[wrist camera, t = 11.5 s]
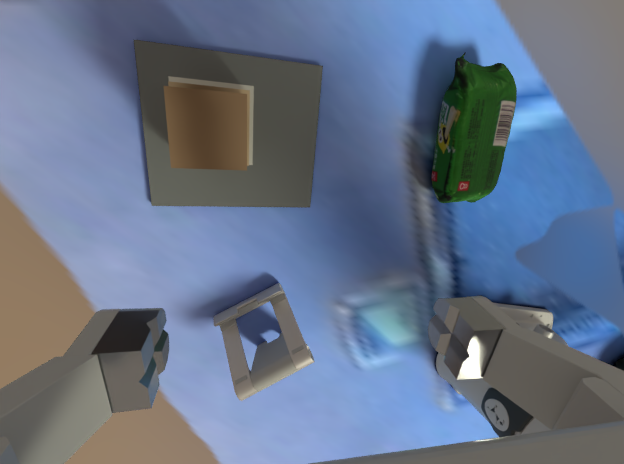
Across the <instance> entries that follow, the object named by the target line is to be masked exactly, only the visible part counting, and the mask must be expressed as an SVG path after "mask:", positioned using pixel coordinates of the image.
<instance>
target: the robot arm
mask: <svg viewBox="0 0 624 464" xmlns="http://www.w3.org/2000/svg"><path fill="white" fill-rule="evenodd" d="M433 310H434V312H435V314H436V315H435V316H434V317H433V318H432V319H431V320H430V322H429V326H428V336H429V340H430V342H431V344H432V346H433V347H434V349H435V350H436V351H437V352H438V355H437V359H436V368H437V371H438V373H439V375H440V376H441V377H442V378H443V379H444V380H446V381H447V382H448V383H450V384H451V385H452V387H453V389H454V390H455V391H456V392H457V393H458V394H462V395H463V396H464V397H465V398H466V399H467V400H468V401H469V402H470V403H471V405H472V406H473V407H474V408H475V409H476V410H477V411H478V412H479V413H480V414H481V415H482V416H483V417H484V418H485V419H486V420H487V421H488V422H489V423H490V424H491V426H492V428H493V430H494V431H495V432H496V434H497V435H498V436H499V438H491V439H484V440H477V441H470V442H463V443H456V444H449V445H441V446H434V447H427V448H420V449H412V450H405V451H398V452H391V453H383V454H376V455H369V456H361V457H354V458H347V459H339V460H332V461H325V462H317V463H310V464H624V371H623V370H620V369H618V368H616V367H614V366H611V365H609V364H607V363H605V362H602V361H600V360H598V359H596V358H593V357H591V356H589V355H586V354H584V353H582V352H580V351H577V350H575V349H573V348H571V347H568V345H567V343H566V342H565V341H564V340H563V339H562V338H561V337H560V336H559V335H558V334H556V333H555V332H554V331H553V330H552V325H553V315H552V313H551V312H549V311H548V310H546V309H539V308H531V307H523V306H515V305H507V304H499V303H492V302H491V301H490V300H489V299H487V298H486V297H483V296H470V297H462V298H438V300H437V301H436V302H435V305H434V308H433ZM165 323H166V315H165V310H164V309H163V308H145V309H104V310H100V311H98V312H96V313H95V315H94V316H93V317H92V319H91V320H90V321H89V323H88V324H87V325H86V326H85V328H84V329H83V331H82V332H81V333H80V334H79V336H78V337H77V338H76V340H75V341H74V343H73V344H72V345H71V346H70V348H69V349H68V350H67V352H66V353H65V354H64V356H63V357H55V358H53V359H51V360H49V361H48V362H46V363H45V364H42V365H41V366H39V367H37V368H36V369H34V370H32V371H30V372H29V373H27V374H25V375H24V376H22V377H20V378H18V379H17V380H15V381H13V382H11V383H10V384H8V385H7V386H5V387H3V388H1V389H0V464H64V463H65V462H66V461H67V460H68V459H69V458H70V457H71V456H72V455H73V454H74V453H75V452H76V451H77V450H78V449H79V448H80V447H81V446H82V445H83V444H84V443H85V442H86V441H87V440H88V439H89V438H90V437H91V436H92V435H93V434H94V433H95V432H96V431H97V430H98V429H99V428H100V427H101V426H102V425H103V424H104V423H105V422H106V421H107V420H108V419H109V418H110V417H111V416H112V413H116V412H124V411H132V410H140V409H148V408H152V405H153V402H154V399H155V396H156V393H157V390H158V387H159V378H158V375H159V374H160V373H161V372H163V371H164V370H165V366H166V363H167V359H168V353H169V336H168V333H167V332H166V331H165V330H163V328H164V326H165Z"/></svg>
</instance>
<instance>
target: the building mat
mask: <svg viewBox="0 0 624 464" xmlns="http://www.w3.org/2000/svg"><path fill="white" fill-rule="evenodd" d="M134 47H135V56H136V65H137V75H138V84H139V93H140V102H141V111H142V121H143V130H144V139H145V148H146V157H147V166H148V176H149V185H150V194H151V203H152V206H228V207H310V202H311V191H312V180H313V169H314V158H315V147H316V136H317V124H318V113H319V102H320V91H321V80H322V69H323V66H319V65H312V64H305V63H298V62H290V61H283V60H276V59H269V58H262V57H255V56H248V55H241V54H233V53H226V52H219V51H212V50H205V49H198V48H191V47H184V46H176V45H169V44H162V43H155V42H148V41H141V40H134ZM168 81H170V82H179V83H188V84H197V85H206V86H215V87H224V88H233V89H242V90H250V116H249V166H247V171H245V170H215V169H185V168H171V163H170V152H169V141H168V130H167V119H166V107H165V96H164V86H168Z"/></svg>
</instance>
